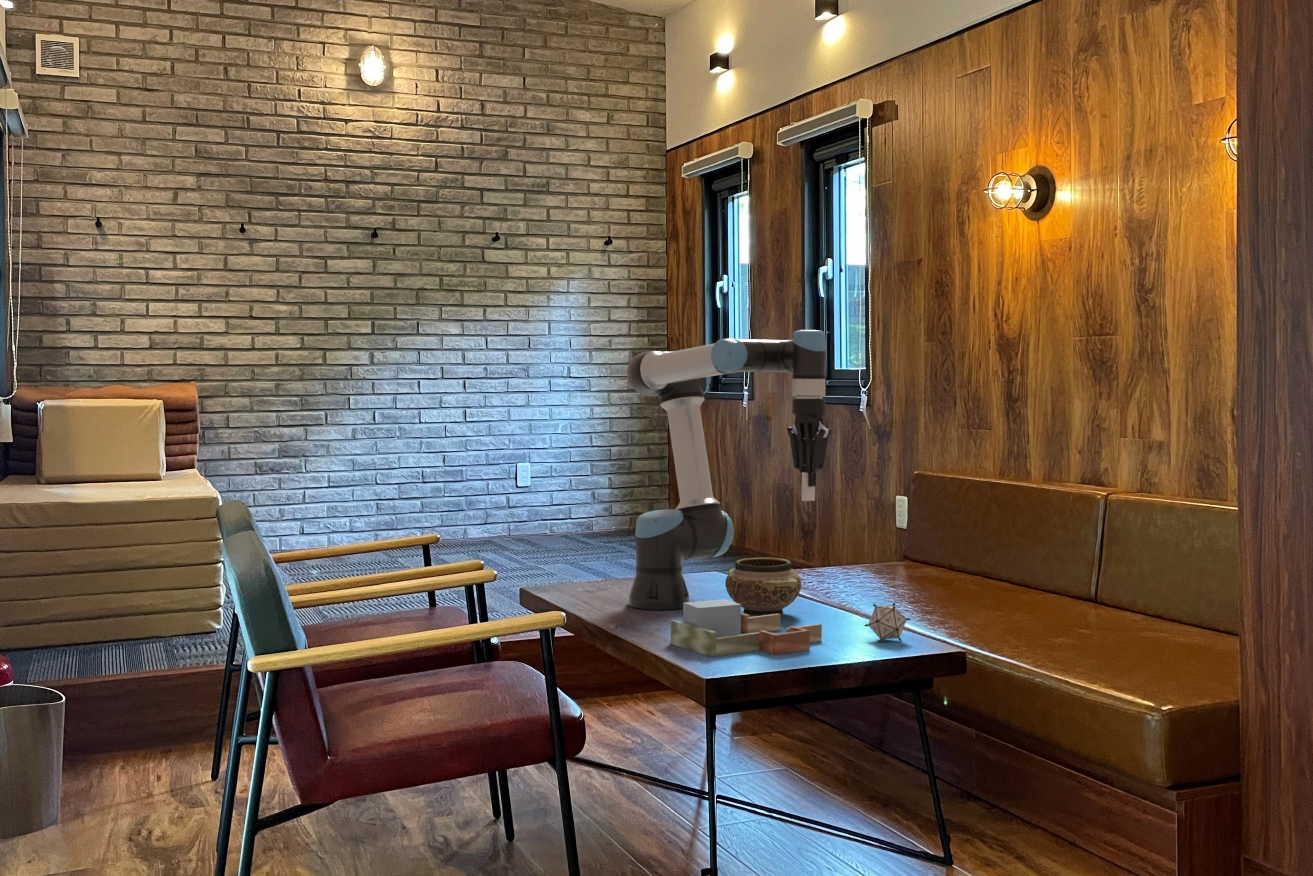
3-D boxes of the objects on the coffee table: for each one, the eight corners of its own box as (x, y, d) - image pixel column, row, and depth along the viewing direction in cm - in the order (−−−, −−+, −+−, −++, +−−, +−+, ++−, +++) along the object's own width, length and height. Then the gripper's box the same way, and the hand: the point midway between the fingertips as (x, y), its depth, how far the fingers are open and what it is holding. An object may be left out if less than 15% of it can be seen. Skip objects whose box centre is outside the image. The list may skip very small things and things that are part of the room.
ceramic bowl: (715, 618, 300) (702, 561, 298) (776, 596, 307) (763, 539, 305) (763, 638, 278) (749, 576, 276) (828, 613, 285) (815, 552, 282)
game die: (894, 659, 261) (909, 627, 255) (857, 643, 262) (871, 611, 256) (902, 632, 268) (917, 600, 262) (866, 617, 269) (880, 585, 263)
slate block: (683, 644, 258) (683, 602, 257) (724, 640, 262) (724, 599, 262) (698, 651, 252) (698, 608, 251) (740, 646, 256) (740, 604, 256)
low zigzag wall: (656, 639, 263) (656, 616, 263) (762, 624, 279) (762, 603, 279) (728, 662, 241) (728, 637, 241) (838, 645, 257) (838, 621, 257)
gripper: (840, 398, 275) (839, 502, 276) (803, 397, 286) (802, 497, 287) (815, 398, 271) (814, 503, 272) (778, 397, 282) (777, 499, 283)
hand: (808, 500), depth 280 cm, fingers closed
